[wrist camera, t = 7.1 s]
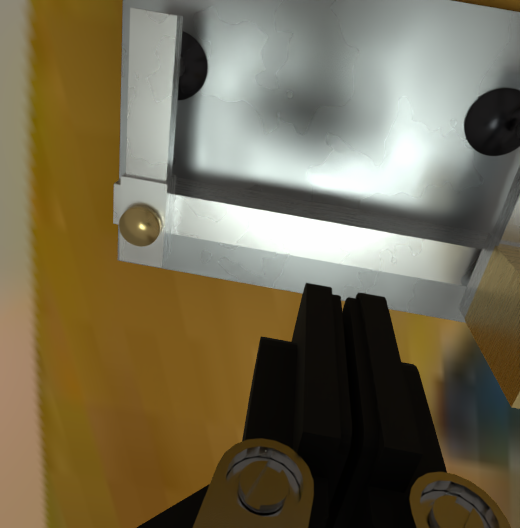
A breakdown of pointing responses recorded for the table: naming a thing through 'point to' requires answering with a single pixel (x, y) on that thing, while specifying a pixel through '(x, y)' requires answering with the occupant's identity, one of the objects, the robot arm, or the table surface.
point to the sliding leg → (499, 296)
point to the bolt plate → (318, 142)
